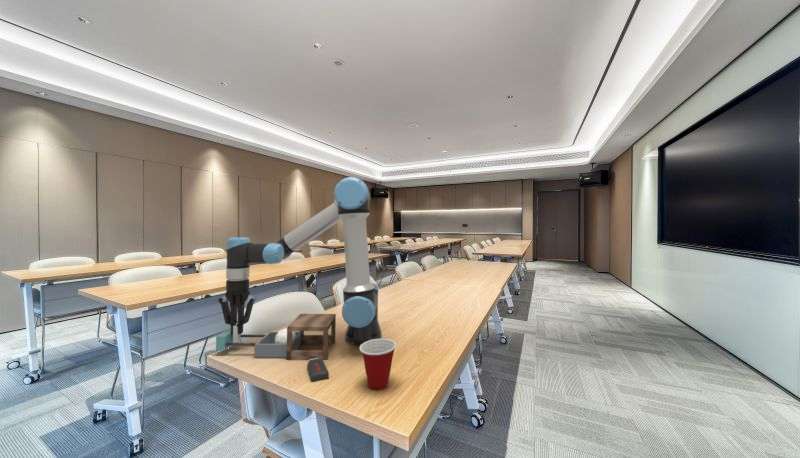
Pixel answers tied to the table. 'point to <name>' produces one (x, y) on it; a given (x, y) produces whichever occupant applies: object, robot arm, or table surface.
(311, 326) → the shelf
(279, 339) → the geometric ball
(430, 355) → the table surface
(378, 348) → the plastic cup
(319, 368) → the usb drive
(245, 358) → the table surface
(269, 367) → the table surface
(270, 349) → the long-handled grey tray
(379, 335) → the robot arm
